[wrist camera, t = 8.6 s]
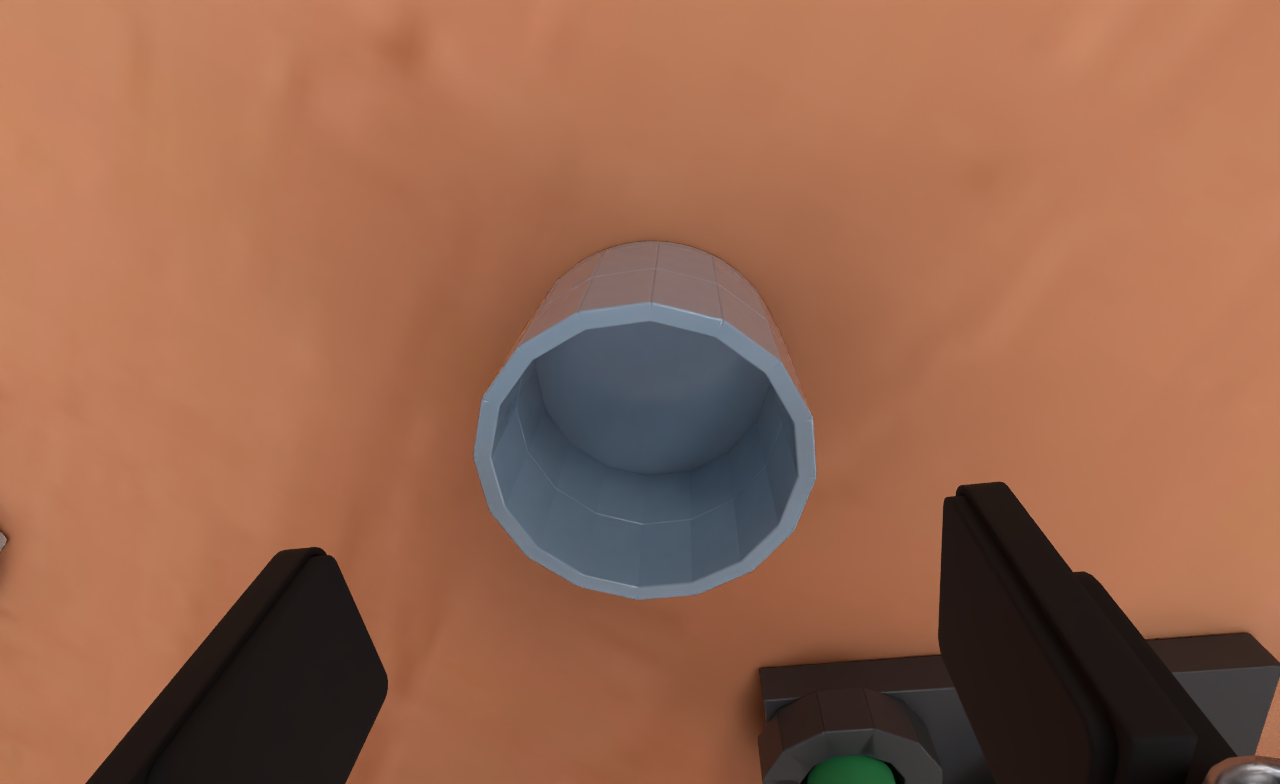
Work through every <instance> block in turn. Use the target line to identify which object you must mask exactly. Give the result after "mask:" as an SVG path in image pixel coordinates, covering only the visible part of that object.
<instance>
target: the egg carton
mask: <svg viewBox="0 0 1280 784" xmlns="http://www.w3.org/2000/svg"><path fill="white" fill-rule="evenodd" d="M6 541H7V539H6V537H5V536H4V535H3V534H2V533H1V532H0V551H1V549H2V548H3V547H4V545H5V544H6Z"/></svg>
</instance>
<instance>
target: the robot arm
mask: <svg viewBox="0 0 1280 784" xmlns="http://www.w3.org/2000/svg"><path fill="white" fill-rule="evenodd" d="M938 639H939V647H940V651H941V655H942V659H943V661H944V664H945V666H946V669H947V671H948V673H949V676H950V678H951V680H952V683H953V685H954V687H955V689H956V692H957V694H958V696H959V699H960V701H961V703H962V706H963V708H964V710H965V713H966V715H967V717H968V720H969V722H970V724H971V727H972V729H973V731H974V734H975V736H976V738H977V741H978V743H979V745H980V748H981V750H982V752H983V755H984V757H985V759H986V761H987V764H988V766H989V768H990V771H991V773H992V775H993V778H994V780H995V782H996V784H1280V759H1278V758H1271V757H1263V756H1255V755H1248V756H1239V757H1238V756H1237V754H1236V753H1235V752H1234V751H1233V749H1232V748H1231V747H1230V746H1229V744H1228V743H1227V742H1226V741H1225V739H1224V738H1223V737H1222V736H1221V734H1220V733H1219V732H1218V731H1217V729H1216V728H1215V727H1214V726H1213V724H1212V723H1211V722H1210V721H1209V719H1208V718H1207V717H1206V716H1205V714H1204V713H1203V712H1202V710H1201V709H1200V708H1199V707H1198V705H1197V704H1196V703H1195V702H1194V700H1193V699H1192V698H1191V697H1190V695H1189V694H1188V693H1187V692H1186V690H1185V689H1184V688H1183V687H1182V685H1181V684H1180V683H1179V682H1178V680H1177V679H1176V678H1175V677H1174V675H1173V674H1172V673H1171V672H1170V670H1169V669H1168V668H1167V666H1166V665H1165V664H1164V663H1163V661H1162V660H1161V659H1160V658H1159V656H1158V655H1157V654H1156V653H1155V651H1154V650H1153V649H1152V648H1151V646H1150V645H1149V644H1148V643H1147V641H1146V640H1145V639H1144V638H1143V636H1142V635H1141V634H1140V633H1139V631H1138V630H1137V629H1136V628H1135V626H1134V625H1133V624H1132V622H1131V621H1130V620H1129V619H1128V617H1127V616H1126V615H1125V614H1124V612H1123V611H1122V610H1121V609H1120V607H1119V606H1118V605H1117V604H1116V602H1115V601H1114V600H1113V599H1112V597H1111V596H1110V595H1109V594H1108V592H1107V591H1106V590H1105V589H1104V587H1103V586H1102V585H1101V584H1100V583H1099V582H1098V581H1097V580H1096V579H1095V578H1094V577H1093V576H1092V575H1090V574H1088V573H1086V572H1072V570H1071V569H1070V568H1069V566H1068V565H1067V564H1066V562H1065V561H1064V560H1063V558H1062V557H1061V556H1060V554H1059V553H1058V552H1057V550H1056V549H1055V548H1054V546H1053V545H1052V544H1051V543H1050V541H1049V540H1048V539H1047V537H1046V536H1045V535H1044V533H1043V532H1042V531H1041V529H1040V528H1039V527H1038V525H1037V524H1036V523H1035V521H1034V520H1033V519H1032V518H1031V516H1030V515H1029V514H1028V512H1027V511H1026V510H1025V508H1024V507H1023V506H1022V504H1021V503H1020V502H1019V500H1018V499H1017V498H1016V496H1015V495H1014V494H1013V492H1012V491H1011V490H1010V489H1009V487H1008V486H1007V485H1006V484H1005V483H1003V482H991V483H980V484H970V485H961V486H959V487H958V489H957V491H956V496H953V497H946V498H945V500H944V505H943V527H942V553H941V578H940V603H939V628H938ZM387 689H388V679H387V674H386V671H385V669H384V667H383V665H382V662H381V660H380V658H379V656H378V653H377V651H376V649H375V647H374V644H373V642H372V640H371V638H370V636H369V633H368V631H367V629H366V627H365V624H364V622H363V620H362V618H361V615H360V613H359V611H358V609H357V606H356V604H355V602H354V600H353V597H352V595H351V593H350V591H349V588H348V586H347V584H346V582H345V579H344V577H343V575H342V573H341V570H340V568H339V566H338V564H337V562H336V560H335V558H333V557H332V556H330V555H327V554H326V553H325V551H324V550H322V549H321V548H318V547H311V548H300V549H290V550H283V551H280V552H278V553H277V554H276V555H275V556H274V557H273V558H272V559H271V561H270V562H269V563H268V564H267V565H266V567H265V568H264V569H263V570H262V571H261V573H260V574H259V575H258V576H257V578H256V579H255V580H254V581H253V582H252V584H251V585H250V586H249V587H248V588H247V590H246V591H245V592H244V593H243V594H242V596H241V597H240V598H239V599H238V600H237V602H236V603H235V604H234V605H233V606H232V608H231V609H230V610H229V611H228V612H227V614H226V615H225V616H224V617H223V618H222V620H221V621H220V622H219V623H218V625H217V626H216V627H215V628H214V629H213V631H212V632H211V633H210V634H209V635H208V637H207V638H206V639H205V640H204V641H203V643H202V644H201V645H200V646H199V647H198V649H197V650H196V651H195V652H194V653H193V655H192V656H191V657H190V658H189V659H188V661H187V662H186V663H185V664H184V666H183V667H182V668H181V669H180V670H179V672H178V673H177V674H176V675H175V676H174V678H173V679H172V680H171V681H170V682H169V684H168V685H167V686H166V687H165V688H164V690H163V691H162V692H161V693H160V694H159V696H158V697H157V698H156V699H155V700H154V702H153V703H152V704H151V705H150V706H149V708H148V709H147V710H146V711H145V713H144V714H143V715H142V716H141V717H140V719H139V720H138V721H137V722H136V723H135V725H134V726H133V727H132V728H131V729H130V731H129V732H128V733H127V734H126V735H125V737H124V738H123V739H122V740H121V741H120V743H119V744H118V745H117V746H116V747H115V749H114V750H113V751H112V752H111V754H110V755H109V756H108V757H107V758H106V760H105V761H104V762H103V763H102V764H101V766H100V767H99V768H98V769H97V770H96V772H95V773H94V774H93V775H92V776H91V778H90V779H89V780H88V781H87V782H86V784H345V783H346V781H347V779H348V777H349V775H350V772H351V770H352V768H353V766H354V764H355V762H356V760H357V758H358V755H359V753H360V751H361V749H362V747H363V745H364V743H365V741H366V738H367V736H368V734H369V732H370V730H371V728H372V726H373V724H374V721H375V719H376V717H377V715H378V713H379V711H380V709H381V707H382V704H383V702H384V700H385V697H386V695H387Z"/></svg>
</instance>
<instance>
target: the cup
mask: <svg viewBox="0 0 1280 784" xmlns="http://www.w3.org/2000/svg"><path fill="white" fill-rule="evenodd" d="M473 456H474V457H473V458H474V462H475V465H476V468H477V472H478V475H479V478H480V482H481V485H482V488H483V492H484V495H485V498H486V502H487V505H488V508H489V511H490V512H491V514H492V515H493V516H494V518H495V519H496V520H497V521H498V522H499V524H500V525H501V526H502V527H503V529H504V530H505V531H506V532H507V533H508V535H509V536H510V537H511V538H512V539H513V541H514V542H515V543H516V544H517V545H518V547H519V548H520V549H521V550H522V552H523V553H524V554H525V555H526V556H528V558H530V559H532V560H533V561H535V562H537V563H538V564H540V565H542V566H543V567H545V568H547V569H549V570H550V571H552V572H554V573H555V574H557V575H559V576H560V577H562V578H564V579H565V580H567V581H569V582H571V583H572V584H574V585H576V586H579V587H581V588H585V589H590V590H594V591H599V592H603V593H608V594H612V595H617V596H621V597H625V598H630V599H634V600H636V599H638V600H644V599H656V598H668V597H679V596H691V595H697V594H701V593H703V592H705V591H708V590H710V589H712V588H715V587H717V586H719V585H722V584H724V583H726V582H729V581H731V580H733V579H736V578H738V577H740V576H743V575H745V574H747V573H750V572H751V570H752V571H753V570H754V569H755V568H756V567H757V566H758V565H759V564H760V563H761V562H763V561H764V560H765V559H766V558H767V557H768V556H769V555H770V554H771V553H772V552H773V551H774V550H775V549H776V548H777V547H778V546H779V545H780V544H781V543H782V542H783V541H784V540H786V539H787V538H788V537H789V536H790V535H791V534H792V533H793V531H794V530H795V528H796V526H797V523H798V521H799V519H800V516H801V514H802V511H803V509H804V507H805V504H806V502H807V499H808V497H809V495H810V492H811V490H812V487H813V485H814V483H815V480H816V476H817V471H816V454H815V437H814V420H813V417H812V413H811V411H810V408H809V406H808V403H807V400H806V398H805V395H804V393H803V390H802V387H801V385H800V382H799V380H798V377H797V374H796V372H795V369H794V367H793V364H792V361H791V359H790V356H789V354H788V351H787V348H786V346H785V343H784V340H783V338H782V335H781V333H780V331H779V329H778V327H777V326H776V324H775V322H774V320H773V318H772V316H771V314H770V312H769V310H768V307H767V305H766V304H765V302H764V301H763V299H762V298H761V296H760V295H759V293H758V292H757V291H756V289H755V288H754V287H753V286H752V285H751V284H750V283H749V281H748V280H747V279H746V278H745V277H743V276H742V275H741V274H740V273H739V272H738V271H737V270H735V269H734V268H733V267H731V266H730V265H728V264H727V263H725V262H724V261H722V260H721V259H719V258H717V257H715V256H713V255H711V254H709V253H707V252H705V251H703V250H699V249H696V248H693V247H690V246H687V245H682V244H677V243H672V242H661V241H644V242H632V243H627V244H623V245H618V246H614V247H611V248H608V249H606V250H603V251H600V252H598V253H596V254H594V255H592V256H590V257H588V258H586V259H584V260H583V261H581V262H580V263H578V264H577V265H575V266H574V267H573V268H571V269H570V270H569V271H568V272H567V273H565V274H564V275H563V276H562V277H561V278H559V279H558V280H557V281H556V282H555V284H554V285H553V287H552V288H551V290H550V291H549V292H548V293H547V295H546V296H545V298H544V300H543V301H542V303H541V304H540V306H539V307H538V308H537V310H536V311H535V313H534V314H533V316H532V317H531V319H530V320H529V322H528V323H527V325H526V327H525V328H524V330H523V332H522V333H521V335H520V336H519V338H518V340H517V341H516V343H515V345H514V346H513V348H512V349H511V351H510V353H509V354H508V356H507V358H506V359H505V361H504V362H503V364H502V366H501V367H500V369H499V371H498V372H497V374H496V375H495V377H494V379H493V380H492V382H491V384H490V385H489V387H488V388H487V390H486V392H485V393H484V395H483V398H482V400H481V405H480V412H479V418H478V425H477V431H476V438H475V444H474V451H473Z"/></svg>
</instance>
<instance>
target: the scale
mask: <svg viewBox="0 0 1280 784" xmlns="http://www.w3.org/2000/svg"><path fill="white" fill-rule="evenodd" d="M1147 643H1148V644H1149V645H1150V646H1151V648H1152V649H1153V650H1154V651H1155V653H1156V654H1157V655H1158V656H1159V658H1160V659H1161V660H1162V661H1163V663H1164V664H1165V665H1166V666H1167V668H1168V669H1169V670H1170V672H1171V673H1172V674H1173V675H1174V677H1175V678H1176V679H1177V680H1178V682H1179V683H1180V684H1181V685H1182V687H1183V688H1184V689H1185V690H1186V692H1187V693H1188V694H1189V695H1190V697H1191V698H1192V699H1193V700H1194V702H1195V703H1196V704H1197V705H1198V707H1199V708H1200V709H1201V710H1202V712H1203V713H1204V714H1205V716H1206V717H1207V718H1208V719H1209V721H1210V722H1211V723H1212V724H1213V726H1214V727H1215V728H1216V729H1217V731H1218V732H1219V733H1220V734H1221V736H1222V737H1223V738H1224V739H1225V741H1226V742H1227V743H1228V744H1229V746H1230V747H1231V748H1232V749H1233V751H1234V752H1235V753H1236V754H1237V756H1238V757H1239V756H1248V755H1255V752H1256V749H1257V746H1258V743H1259V740H1260V736H1261V733H1262V730H1263V727H1264V724H1265V721H1266V718H1267V715H1268V712H1269V708H1270V705H1271V702H1272V699H1273V696H1274V693H1275V690H1276V687H1277V684H1278V680H1279V677H1280V662H1279V661H1278V660H1277V659H1275V658H1274V657H1273V656H1272V655H1271V654H1270V653H1269V652H1268V651H1267V650H1266V649H1265V648H1264V647H1263V646H1262V645H1261V644H1260V643H1259V642H1258V641H1257V640H1256V639H1255V638H1254V637H1253V636H1252V635H1251V634H1249V633H1245V634H1231V635H1218V636H1204V637H1190V638H1176V639H1162V640H1148V641H1147ZM759 671H760V680H761V688H762V697H763V705H764V714H765V723H766V726H765V727H764V729H763V730H762V732H761V733H760V735H759V736H758V746H759V755H760V763H761V772H762V781H763V784H807V781H808V776H809V774H810V772H811V770H812V769H813V768H814V766H815V765H818V764H820V763H822V762H824V761H827V760H829V759H831V758H833V757H839V756H857V755H867V756H870V757H873V758H876V759H879V760H881V761H883V762H884V763H885V764H886V765H887V766H888V767H889V768H890V770H891V771H892V773H893V776H894V780H895V783H896V784H996V782H995V780H994V778H993V775H992V773H991V771H990V768H989V766H988V764H987V761H986V759H985V757H984V755H983V752H982V750H981V748H980V745H979V743H978V741H977V738H976V736H975V734H974V731H973V729H972V727H971V724H970V722H969V720H968V717H967V715H966V713H965V710H964V708H963V706H962V703H961V701H960V699H959V696H958V694H957V692H956V689H955V687H954V685H953V683H952V680H951V678H950V676H949V673H948V671H947V669H946V666H945V664H944V661H943V659H942V655H939V656H925V657H911V658H897V659H883V660H870V661H856V662H842V663H828V664H814V665H800V666H786V667H772V668H761V669H760V670H759Z"/></svg>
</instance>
